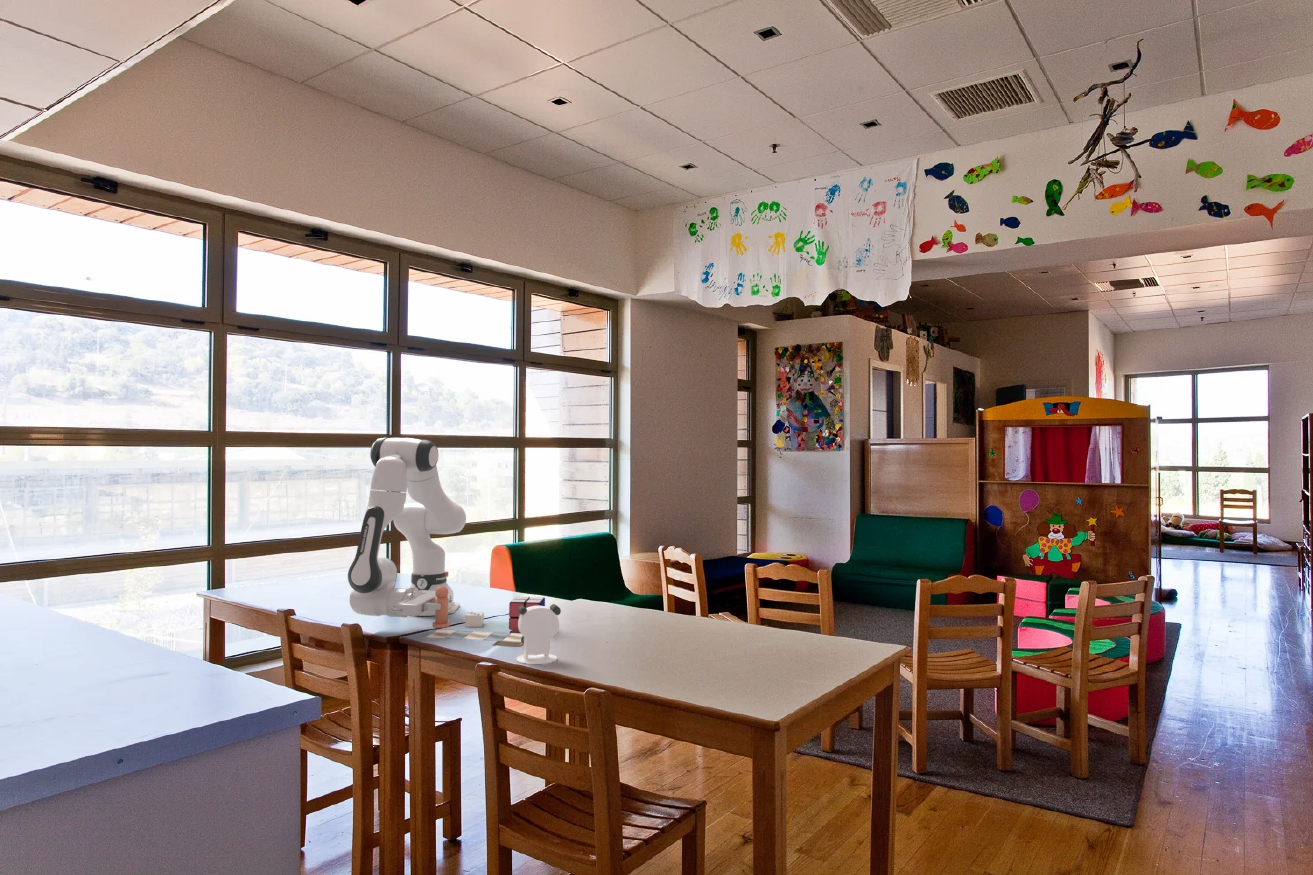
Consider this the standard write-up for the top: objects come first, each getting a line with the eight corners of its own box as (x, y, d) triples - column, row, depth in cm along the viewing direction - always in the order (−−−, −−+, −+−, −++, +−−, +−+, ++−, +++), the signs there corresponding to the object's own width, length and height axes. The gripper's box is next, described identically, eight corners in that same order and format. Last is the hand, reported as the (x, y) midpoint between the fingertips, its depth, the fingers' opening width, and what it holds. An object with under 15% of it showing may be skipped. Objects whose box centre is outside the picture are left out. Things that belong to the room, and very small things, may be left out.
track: (438, 633, 255) (438, 629, 255) (530, 637, 252) (530, 633, 252) (424, 641, 244) (424, 637, 244) (520, 646, 241) (520, 641, 241)
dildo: (436, 623, 253) (437, 584, 253) (452, 624, 252) (453, 584, 252) (430, 627, 248) (430, 587, 248) (446, 628, 247) (446, 587, 247)
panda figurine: (553, 652, 234) (554, 601, 234) (563, 662, 223) (564, 608, 224) (512, 655, 230) (513, 603, 230) (520, 666, 219) (521, 611, 219)
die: (468, 627, 265) (468, 612, 265) (483, 627, 265) (483, 612, 265) (465, 630, 260) (465, 615, 260) (481, 630, 260) (481, 615, 260)
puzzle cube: (539, 633, 258) (540, 602, 258) (508, 633, 258) (509, 601, 258) (544, 626, 268) (545, 596, 268) (514, 626, 268) (515, 596, 268)
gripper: (387, 599, 241) (431, 601, 240) (415, 586, 262) (456, 588, 260) (386, 620, 241) (431, 622, 240) (415, 606, 262) (456, 607, 260)
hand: (444, 604), depth 250 cm, fingers closed on dildo, 4 cm apart
